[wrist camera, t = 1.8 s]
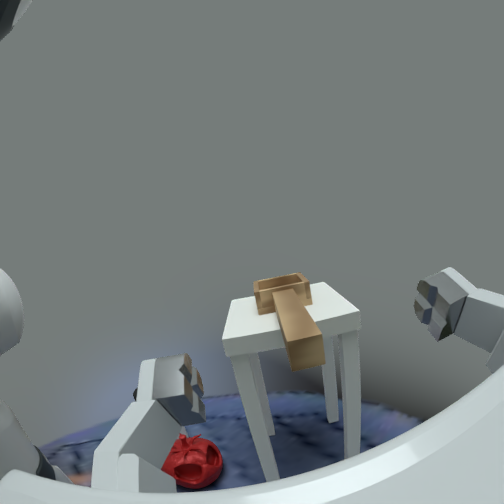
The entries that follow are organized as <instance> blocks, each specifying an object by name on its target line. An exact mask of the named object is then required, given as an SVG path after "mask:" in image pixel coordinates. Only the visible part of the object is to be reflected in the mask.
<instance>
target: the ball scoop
mask: <svg viewBox="0 0 504 504" xmlns="http://www.w3.org/2000/svg"><path fill="white" fill-rule="evenodd" d="M254 295H255V300H256V305H257V310H258V314H259V315H264V314H269V313H274V312H276V315H277V318H278V322H279V326H280V329H281V333H282V336H283V340H284V344H285V347H286V351H287V355H288V358H289V362H290V365H291V369H292V371H298V370H302V369H306V368H311V367H315V366H319V365H324V364H326V362H325V353H324V345H323V337H322V333H321V331H320V330H319V328H318V327H317V325H316V324H315V322H314V320H313V319H312V317H311V316H310V314H309V313H308V311H307V310H306V308H305V306H308V305H312V304H313V303H312V296H311V290H310V284H309V281H308V280H307V279H306V278H305V277H304V276H303V275H302V274H301V273H300V272H299V273H294V274H289V275H284V276H279V277H274V278H269V279H264V280H259V281H254Z"/></svg>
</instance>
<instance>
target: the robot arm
mask: <svg viewBox="0 0 504 504" xmlns="http://www.w3.org/2000/svg"><path fill="white" fill-rule="evenodd" d="M31 2H32V0H0V41H1V40H2V39H3V38H4V37H5V36H6V35H7V34H8V33H9V32H10V31H11V30H12V29H13V27H14V24H15V23H16V22H17V21H18V20H19V18H20V17H21V16H22V15H23V14H24V12H25V11H26V9H27V8H28V6H29V5H30V3H31ZM417 290H418V292H419V294H418V295H417V297H416V298H415V302H414V309H415V314H416V316H417V318H418V319H419V320H420V321H421V323H424V324H427V325H428V331H429V332H430V333H431V334H432V336H433V337H434V338H435V339H436V341H437V342H438V341H440V340H442V339H444V338H446V337H448V336H449V335H451V334H453V333H454V335H456V336H458V337H460V338H462V339H464V340H466V341H468V342H470V343H472V344H474V345H476V346H478V347H480V348H482V349H484V350H486V351H488V352H490V353H491V354H490V356H489V358H488V359H487V361H486V366H487V367H488V368H489V370H490V371H491V373H492V375H491V376H490V377H488V378H487V379H486V380H485V381H483V382H482V383H481V384H480V385H478V386H477V387H476V388H475V389H473V390H472V391H470V392H469V393H468V394H466V395H465V396H464V397H462V398H461V399H459V400H458V401H457V402H455V403H454V404H452V405H451V406H449V407H448V408H446V409H445V410H443V411H442V412H440V413H438V414H437V415H435V416H434V417H432V418H430V419H429V420H427V421H425V422H423V423H422V424H420V425H418V426H416V427H415V428H413V429H411V430H409V431H407V432H405V433H403V434H402V435H400V436H398V437H396V438H394V439H392V440H390V441H387V442H385V443H383V444H381V445H379V446H377V447H375V448H372V449H370V450H368V451H365V452H363V453H361V454H358V455H356V456H353V457H351V458H348V459H345V460H343V461H340V462H337V463H334V464H331V465H329V466H326V467H322V468H319V469H316V470H313V471H310V472H306V473H303V474H299V475H295V476H292V477H288V478H284V479H279V480H275V481H271V482H266V483H261V484H255V485H250V486H244V487H238V488H230V489H223V490H213V491H202V492H186V493H177V490H176V480H175V479H174V478H173V477H172V476H170V475H168V474H167V473H165V472H163V471H161V468H162V466H163V464H164V462H165V460H166V458H167V456H168V454H169V452H170V450H171V448H172V447H173V445H174V443H175V441H176V439H177V437H178V435H179V433H180V431H181V429H182V427H181V426H187V425H193V424H199V423H204V422H206V415H205V405H204V404H203V402H202V401H201V398H202V396H203V395H204V391H203V384H202V380H201V377H200V374H199V372H198V370H197V369H196V368H195V367H192V364H191V363H192V362H191V361H192V360H191V358H190V357H189V355H188V354H186V353H185V354H180V355H173V356H167V357H161V358H157V359H150V360H144V361H143V362H142V363H141V367H140V375H139V382H138V390H137V399H136V402H132V403H131V404H130V406H129V407H128V408H127V410H126V411H125V412H124V414H123V415H122V416H121V417H120V419H119V420H118V421H117V423H116V424H115V425H114V427H113V428H112V429H111V430H110V432H109V433H108V434H107V436H106V437H105V438H104V440H103V441H102V442H101V443H100V445H99V446H98V447H97V449H96V450H95V451H94V459H93V469H92V480H91V487H85V486H79V485H74V484H73V482H72V481H71V480H70V479H69V478H68V477H67V476H66V475H65V474H64V473H63V472H62V471H61V470H60V469H59V468H58V467H57V466H53V465H51V464H50V463H49V462H48V460H47V458H46V457H45V456H44V454H43V453H41V451H40V450H39V449H38V448H37V447H36V446H34V445H33V444H32V442H31V441H30V439H29V438H28V436H27V435H26V433H25V431H24V430H23V428H22V427H21V425H20V423H19V421H18V420H17V418H16V416H15V414H14V413H13V411H12V409H11V408H10V407H9V406H8V405H7V404H6V403H5V402H4V401H2V400H1V399H0V504H504V295H500V294H497V293H494V292H491V291H487V290H484V289H481V288H480V289H477V288H475V287H474V286H473V285H472V284H471V283H470V282H469V281H467V280H466V279H465V278H464V277H463V276H462V275H461V274H459V273H458V272H457V271H456V270H454V269H453V268H450V267H449V268H446V269H444V270H442V271H440V272H437V273H435V274H433V275H431V276H429V277H427V278H424V279H422V280H420V281H419V283H418V286H417ZM23 328H24V310H23V304H22V301H21V297H20V294H19V292H18V290H17V288H16V286H15V284H14V283H13V281H12V280H11V278H10V277H9V276H8V275H7V274H6V273H5V272H4V271H3V270H2V269H0V356H1V355H2V354H4V353H5V352H7V351H8V350H10V349H11V348H12V347H14V346H15V345H17V344H18V343H19V342H20V339H21V336H22V333H23Z"/></svg>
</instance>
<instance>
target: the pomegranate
mask: <svg viewBox="0 0 504 504" xmlns="http://www.w3.org/2000/svg"><path fill="white" fill-rule="evenodd" d="M179 435H180V436H179V439H176V441H175V443H174V445H173V447H172V448H171V450H170V452H169V454H168V456H167V458H166V460H165V462H164V464H163V466H162V468H161V470H162V471H163V472H165V473H167V474H168V475H170V476H172V477H173V478H174V479H175V480H176V484H178V485H180V486H183V487H186V488H191V489H199V488H203V487H206V486H208V485H209V484H211V483H212V482H214V481H215V480H216V479H217V478H218V476H219V475H220V472H221V470H222V467H223V460H222V455H221V453H220V451H219V449H218V448H217V446H216V445H215V444H214V443H213V442H211V441H209V440H206V439H203V438H197V437H199V436H201V434H200V435H198V436H194V437H192V438H190V437H189V438H187V437H186V435H184V434H181V433H179Z"/></svg>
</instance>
